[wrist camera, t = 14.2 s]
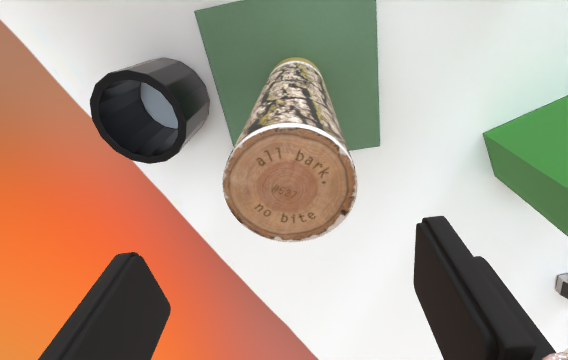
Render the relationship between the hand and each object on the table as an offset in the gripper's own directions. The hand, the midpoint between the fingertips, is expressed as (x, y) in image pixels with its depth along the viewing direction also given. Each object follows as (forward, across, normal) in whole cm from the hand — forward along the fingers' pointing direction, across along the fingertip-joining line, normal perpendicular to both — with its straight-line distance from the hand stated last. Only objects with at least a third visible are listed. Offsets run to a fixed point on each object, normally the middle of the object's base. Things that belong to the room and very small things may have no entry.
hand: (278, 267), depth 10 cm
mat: (+31, 0, 0) cm, 31 cm away
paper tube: (+31, 0, 0) cm, 31 cm away
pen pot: (+31, +16, 0) cm, 35 cm away
